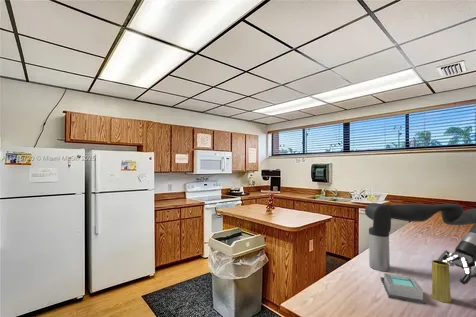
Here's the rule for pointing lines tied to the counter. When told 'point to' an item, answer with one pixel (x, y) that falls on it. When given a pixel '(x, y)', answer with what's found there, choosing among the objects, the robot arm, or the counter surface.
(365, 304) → the counter surface
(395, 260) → the counter surface
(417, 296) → the grey tray
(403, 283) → the plate
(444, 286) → the vase
